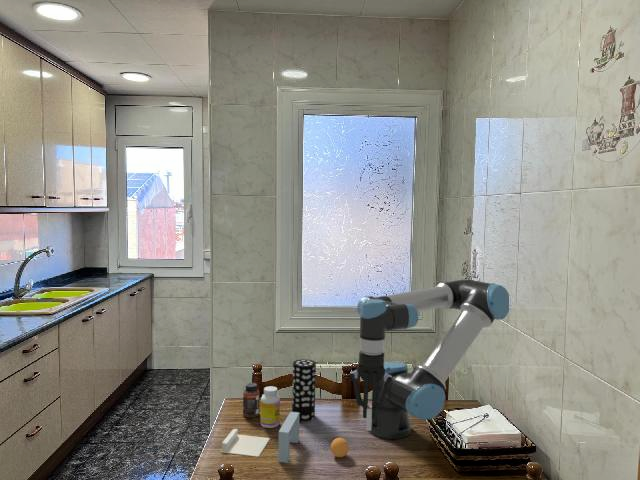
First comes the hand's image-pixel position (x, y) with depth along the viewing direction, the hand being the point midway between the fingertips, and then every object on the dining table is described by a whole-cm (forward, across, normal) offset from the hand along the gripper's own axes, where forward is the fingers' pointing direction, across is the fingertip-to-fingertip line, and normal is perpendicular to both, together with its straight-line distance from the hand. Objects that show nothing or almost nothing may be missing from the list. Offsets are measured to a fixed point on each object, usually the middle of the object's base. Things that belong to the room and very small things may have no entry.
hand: (368, 428), depth 143 cm
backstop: (+10, +44, 0) cm, 45 cm away
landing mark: (+10, +39, 0) cm, 40 cm away
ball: (+7, +9, 0) cm, 11 cm away
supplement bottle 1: (+10, +45, -22) cm, 51 cm away
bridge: (+10, +25, 0) cm, 27 cm away
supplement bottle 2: (+10, +36, -16) cm, 41 cm away
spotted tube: (+10, +26, -25) cm, 37 cm away
